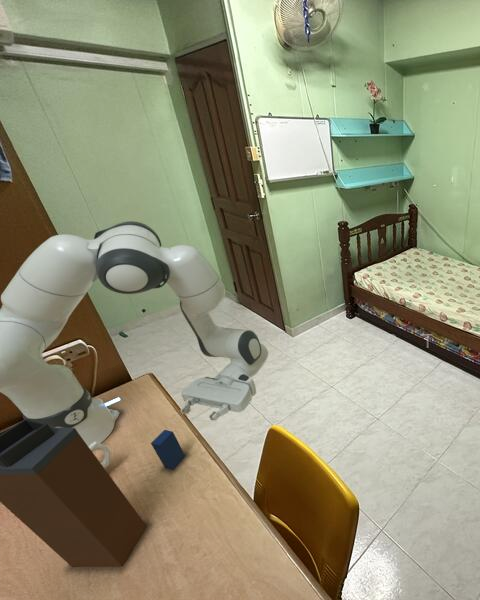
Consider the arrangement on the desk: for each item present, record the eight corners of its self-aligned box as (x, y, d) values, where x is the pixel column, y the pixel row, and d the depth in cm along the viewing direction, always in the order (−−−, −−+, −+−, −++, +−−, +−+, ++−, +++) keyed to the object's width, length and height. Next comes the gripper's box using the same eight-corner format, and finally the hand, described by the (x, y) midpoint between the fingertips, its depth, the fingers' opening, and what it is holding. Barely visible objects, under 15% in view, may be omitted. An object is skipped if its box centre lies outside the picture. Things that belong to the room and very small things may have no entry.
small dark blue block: (164, 468, 80) (150, 443, 75) (177, 454, 84) (164, 429, 79) (173, 470, 80) (159, 445, 75) (185, 456, 83) (173, 431, 78)
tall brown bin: (71, 567, 62) (-49, 458, 45) (101, 526, 68) (5, 417, 51) (122, 566, 62) (21, 458, 45) (147, 526, 69) (67, 417, 52)
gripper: (199, 368, 99) (162, 401, 87) (257, 379, 96) (226, 414, 84) (205, 383, 102) (170, 416, 91) (261, 393, 99) (231, 430, 87)
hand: (197, 415), depth 87 cm, fingers open, 8 cm apart
